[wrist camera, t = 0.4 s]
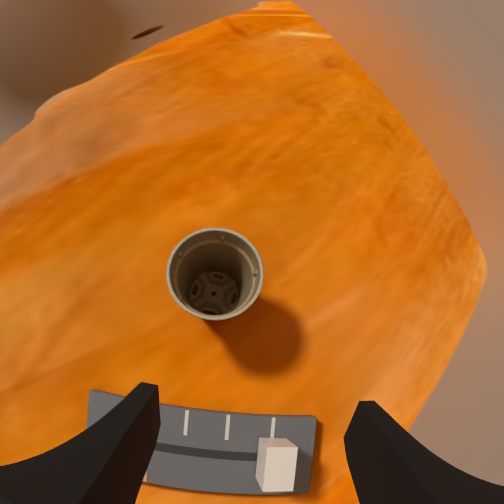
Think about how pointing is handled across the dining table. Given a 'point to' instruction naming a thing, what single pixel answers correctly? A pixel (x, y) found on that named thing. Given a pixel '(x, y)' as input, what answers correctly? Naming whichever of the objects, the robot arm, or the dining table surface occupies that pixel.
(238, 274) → the flower pot
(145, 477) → the console
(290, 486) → the fader
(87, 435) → the robot arm
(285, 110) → the dining table surface
